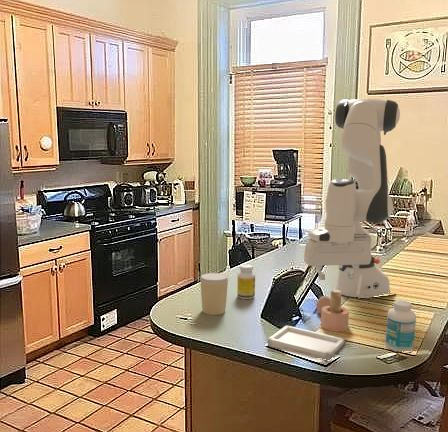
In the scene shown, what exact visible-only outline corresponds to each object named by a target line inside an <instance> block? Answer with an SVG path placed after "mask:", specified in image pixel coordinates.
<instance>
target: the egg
mask: <svg viewBox="0 0 448 432" xmlns="http://www.w3.org/2000/svg"><path fill="white" fill-rule="evenodd" d="M325 306H330V298H329V296H326V295H322V296H320V297H319V298H318V300H317V302H316V306H315V308H316V311H317V312H316V313H317V314H319V315H320V316H321V309H322V307H325Z"/></svg>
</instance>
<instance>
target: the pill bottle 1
mask: <svg viewBox="0 0 448 432" xmlns="http://www.w3.org/2000/svg"><path fill="white" fill-rule="evenodd" d="M239 270H240V272H237V278H236V279H237V280H236V281H237V283H236V284H237V289H236V292H237V293H236V294H237V295H236V296H237V297H238V298H239V299H243V300H251V299H253V298H254V297H255V295H256V274H255V273H254V272H253V270H254V266H253V264H240V265H239Z"/></svg>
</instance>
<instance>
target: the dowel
mask: <svg viewBox="0 0 448 432" xmlns="http://www.w3.org/2000/svg"><path fill="white" fill-rule="evenodd" d="M341 293H342V292H341V291H339V290H334V289H331V290H330V298H329V299H330V312H333V313H341V307H342V294H341Z"/></svg>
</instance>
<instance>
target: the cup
mask: <svg viewBox="0 0 448 432" xmlns="http://www.w3.org/2000/svg"><path fill="white" fill-rule="evenodd" d="M349 316H350V310H349V309H348V308H346V307H345V306H341V313H333V312H330V306H325V307H322V309H321V315H320V326H321V328H322V329H323V330H326V331H329V332H344V331H347V330H348V329H349V318H350V317H349Z"/></svg>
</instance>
